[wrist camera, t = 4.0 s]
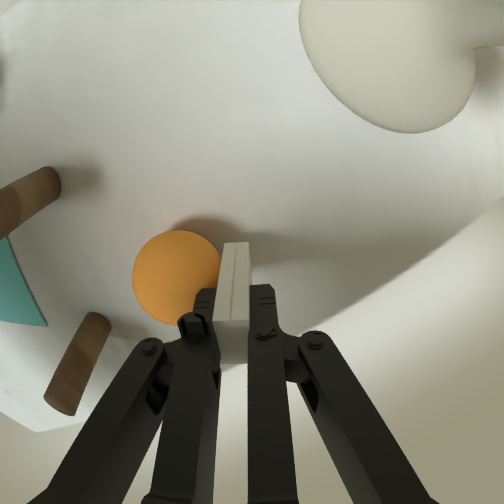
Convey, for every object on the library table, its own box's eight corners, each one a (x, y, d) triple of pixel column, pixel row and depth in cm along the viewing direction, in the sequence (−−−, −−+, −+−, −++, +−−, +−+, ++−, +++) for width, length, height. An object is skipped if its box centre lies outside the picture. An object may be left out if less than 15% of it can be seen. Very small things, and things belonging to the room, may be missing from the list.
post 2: (92, 333, 22) (55, 411, 15) (81, 311, 21) (37, 391, 13) (115, 334, 22) (81, 418, 14) (104, 312, 21) (62, 398, 13)
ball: (211, 279, 21) (140, 303, 19) (199, 208, 18) (117, 232, 16) (247, 323, 16) (158, 358, 14) (237, 239, 14) (126, 275, 12)
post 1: (40, 204, 16) (-41, 268, 8) (32, 171, 15) (-58, 224, 7) (64, 198, 16) (-22, 266, 8) (56, 163, 15) (-40, 216, 7)
